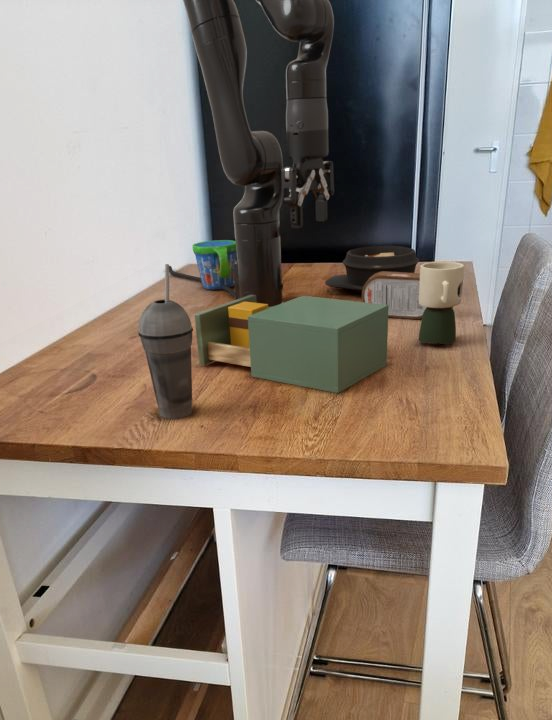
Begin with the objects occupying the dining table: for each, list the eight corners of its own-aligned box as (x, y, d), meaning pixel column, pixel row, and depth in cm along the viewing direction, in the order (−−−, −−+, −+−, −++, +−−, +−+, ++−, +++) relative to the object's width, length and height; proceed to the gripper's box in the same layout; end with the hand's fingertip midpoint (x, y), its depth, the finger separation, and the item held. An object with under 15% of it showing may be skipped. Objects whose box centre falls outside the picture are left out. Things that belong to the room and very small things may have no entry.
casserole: (318, 299, 156) (318, 259, 151) (331, 281, 171) (331, 244, 167) (434, 299, 150) (437, 258, 146) (437, 281, 166) (439, 243, 162)
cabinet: (251, 376, 112) (247, 316, 107) (304, 351, 122) (302, 295, 117) (338, 393, 103) (337, 328, 98) (386, 364, 114) (388, 304, 109)
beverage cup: (151, 405, 103) (131, 261, 93) (201, 401, 103) (186, 258, 93) (148, 424, 96) (126, 272, 86) (201, 420, 97) (185, 268, 87)
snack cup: (192, 283, 177) (188, 240, 172) (234, 279, 179) (231, 236, 174) (201, 296, 164) (196, 250, 159) (245, 291, 166) (242, 246, 161)
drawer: (192, 363, 118) (186, 312, 114) (246, 340, 128) (243, 293, 124) (275, 378, 109) (272, 325, 105) (327, 352, 119) (326, 303, 115)
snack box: (230, 349, 119) (227, 307, 115) (247, 342, 122) (244, 301, 118) (254, 353, 116) (252, 310, 113) (270, 346, 119) (268, 304, 116)
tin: (438, 317, 137) (441, 272, 133) (434, 321, 135) (437, 276, 131) (364, 313, 143) (365, 269, 139) (359, 316, 141) (360, 273, 136)
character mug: (464, 351, 118) (471, 270, 111) (421, 353, 118) (425, 272, 111) (451, 333, 127) (457, 258, 121) (411, 335, 127) (415, 260, 121)
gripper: (311, 127, 134) (313, 219, 142) (267, 130, 124) (271, 229, 132) (345, 125, 130) (345, 220, 138) (302, 129, 120) (305, 231, 128)
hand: (309, 224), depth 135 cm, fingers open, 8 cm apart
